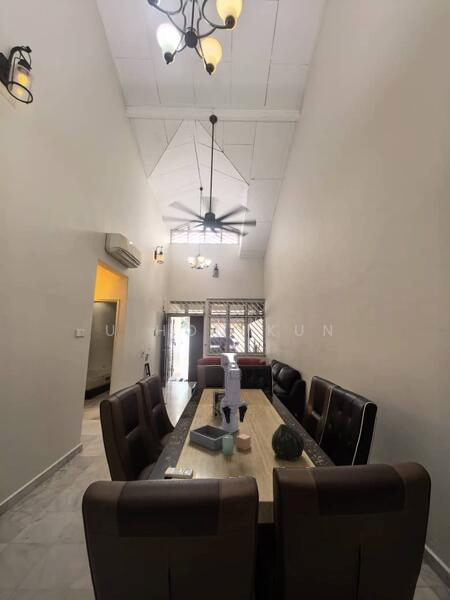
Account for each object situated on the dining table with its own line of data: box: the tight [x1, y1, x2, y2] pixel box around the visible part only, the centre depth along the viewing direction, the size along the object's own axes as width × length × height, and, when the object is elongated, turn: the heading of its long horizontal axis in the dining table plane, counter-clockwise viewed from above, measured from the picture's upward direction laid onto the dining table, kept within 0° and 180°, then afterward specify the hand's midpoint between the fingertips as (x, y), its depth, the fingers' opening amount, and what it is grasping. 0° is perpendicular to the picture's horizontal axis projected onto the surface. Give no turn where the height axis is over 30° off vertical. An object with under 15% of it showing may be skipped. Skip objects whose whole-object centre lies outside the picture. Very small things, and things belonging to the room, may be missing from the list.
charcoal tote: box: [189, 424, 233, 452], centre depth 136 cm, size 18×14×5 cm
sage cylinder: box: [221, 434, 234, 456], centre depth 124 cm, size 5×5×7 cm
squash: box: [271, 423, 305, 461], centre depth 122 cm, size 14×15×15 cm
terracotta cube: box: [236, 433, 252, 451], centre depth 130 cm, size 5×5×5 cm
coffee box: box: [211, 390, 228, 420], centre depth 176 cm, size 9×6×16 cm
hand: (234, 422), depth 128 cm, fingers open, 7 cm apart
